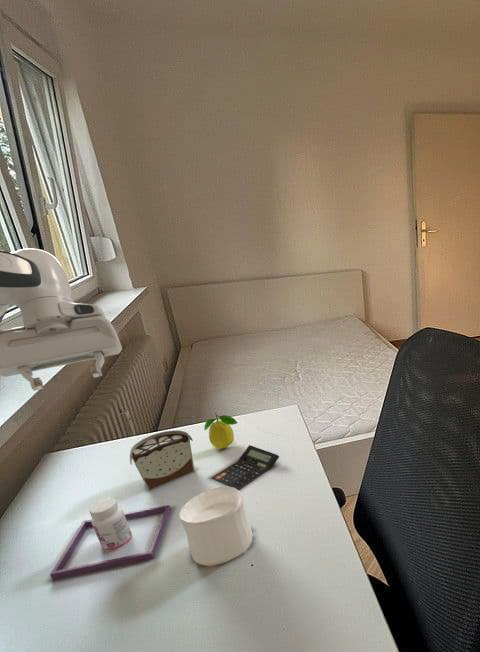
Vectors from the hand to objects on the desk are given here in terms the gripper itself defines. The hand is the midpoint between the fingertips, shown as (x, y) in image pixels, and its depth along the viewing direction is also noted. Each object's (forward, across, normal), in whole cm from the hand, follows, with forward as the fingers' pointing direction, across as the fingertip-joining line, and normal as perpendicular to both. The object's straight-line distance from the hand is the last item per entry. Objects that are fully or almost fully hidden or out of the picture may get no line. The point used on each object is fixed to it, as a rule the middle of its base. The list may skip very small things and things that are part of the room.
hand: (68, 381), depth 84 cm
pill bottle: (+32, 0, +4) cm, 32 cm away
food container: (+20, +11, +17) cm, 28 cm away
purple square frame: (+32, 0, +5) cm, 32 cm away
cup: (+41, +16, -4) cm, 45 cm away
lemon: (+16, +24, +20) cm, 36 cm away
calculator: (+26, +26, +10) cm, 38 cm away
